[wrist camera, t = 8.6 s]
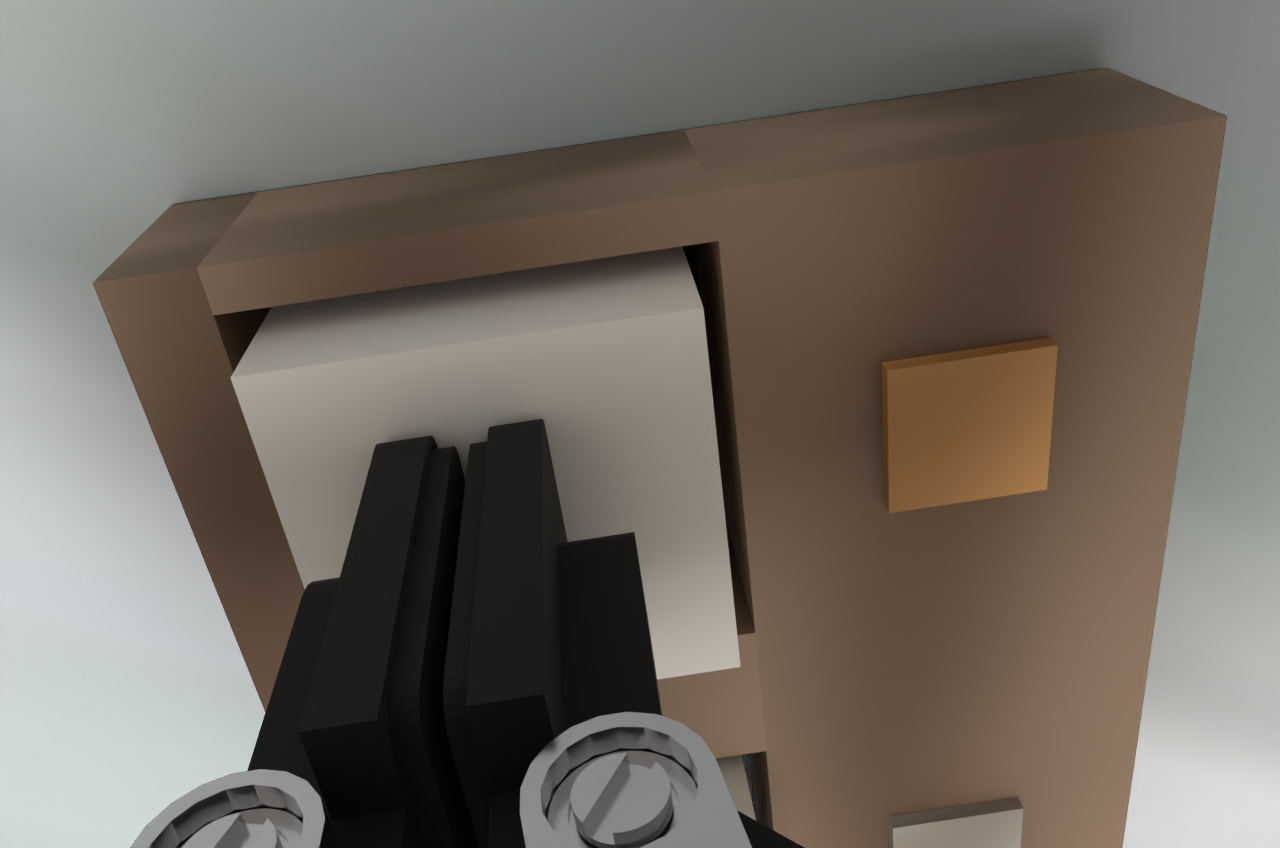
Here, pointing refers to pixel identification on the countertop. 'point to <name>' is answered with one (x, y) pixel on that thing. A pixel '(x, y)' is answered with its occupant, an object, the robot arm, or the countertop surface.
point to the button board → (813, 419)
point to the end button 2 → (515, 416)
